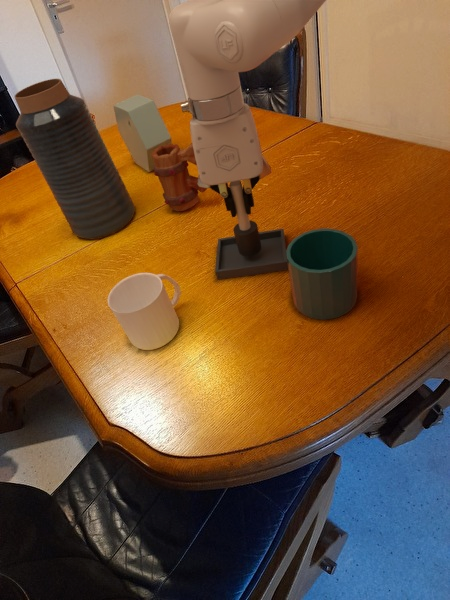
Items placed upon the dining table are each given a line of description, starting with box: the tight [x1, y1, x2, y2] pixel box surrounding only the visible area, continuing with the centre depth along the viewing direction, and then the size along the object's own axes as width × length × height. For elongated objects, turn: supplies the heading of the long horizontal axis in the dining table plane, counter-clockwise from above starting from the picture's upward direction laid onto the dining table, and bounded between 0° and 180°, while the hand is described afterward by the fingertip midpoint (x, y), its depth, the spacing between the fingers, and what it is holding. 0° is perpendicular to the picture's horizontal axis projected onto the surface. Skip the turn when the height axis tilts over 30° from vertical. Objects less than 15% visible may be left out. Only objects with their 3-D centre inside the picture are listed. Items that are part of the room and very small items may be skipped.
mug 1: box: [107, 272, 182, 351], centre depth 67 cm, size 12×9×9 cm
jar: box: [286, 228, 359, 321], centre depth 63 cm, size 10×10×10 cm
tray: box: [214, 228, 289, 281], centre depth 77 cm, size 13×10×2 cm
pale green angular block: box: [112, 94, 173, 173], centre depth 113 cm, size 17×8×21 cm
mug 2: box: [152, 142, 208, 212], centre depth 92 cm, size 15×8×15 cm, turn 70°
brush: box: [228, 180, 261, 256], centre depth 72 cm, size 4×4×14 cm
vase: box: [13, 78, 136, 240], centre depth 90 cm, size 16×16×32 cm
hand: (241, 210), depth 71 cm, fingers closed on brush, 2 cm apart
